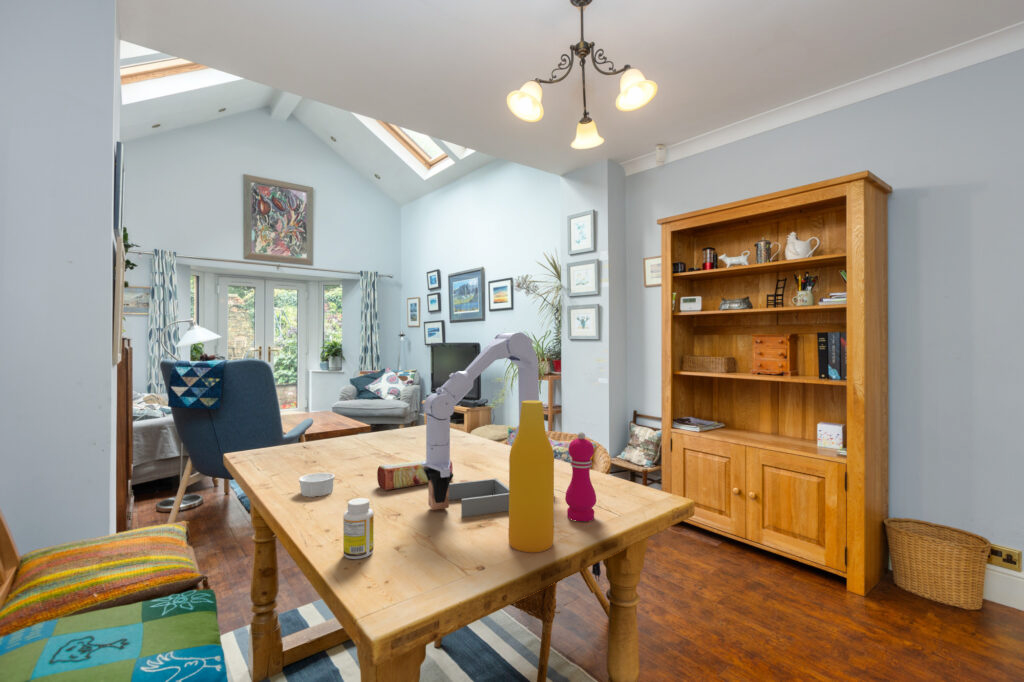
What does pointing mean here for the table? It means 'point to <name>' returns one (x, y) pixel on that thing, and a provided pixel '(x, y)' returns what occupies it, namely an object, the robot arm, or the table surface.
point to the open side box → (482, 503)
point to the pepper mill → (580, 481)
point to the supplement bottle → (358, 529)
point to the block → (432, 499)
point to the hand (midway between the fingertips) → (437, 499)
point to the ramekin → (316, 484)
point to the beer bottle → (531, 483)
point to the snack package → (402, 475)
